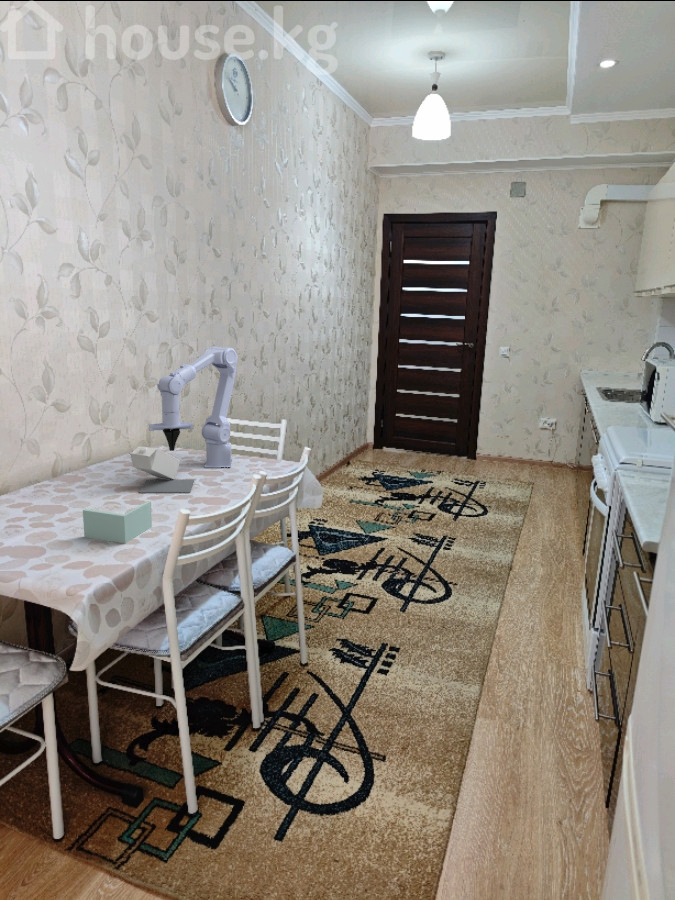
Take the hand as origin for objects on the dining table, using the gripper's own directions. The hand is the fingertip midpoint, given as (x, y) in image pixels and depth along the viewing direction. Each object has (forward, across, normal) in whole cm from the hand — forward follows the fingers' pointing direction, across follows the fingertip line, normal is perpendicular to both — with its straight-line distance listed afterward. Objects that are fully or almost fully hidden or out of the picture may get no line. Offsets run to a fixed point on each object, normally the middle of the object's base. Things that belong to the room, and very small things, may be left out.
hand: (171, 450), depth 205 cm
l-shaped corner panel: (+10, +22, +48) cm, 53 cm away
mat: (+9, +4, +12) cm, 15 cm away
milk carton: (+6, +1, +1) cm, 7 cm away
